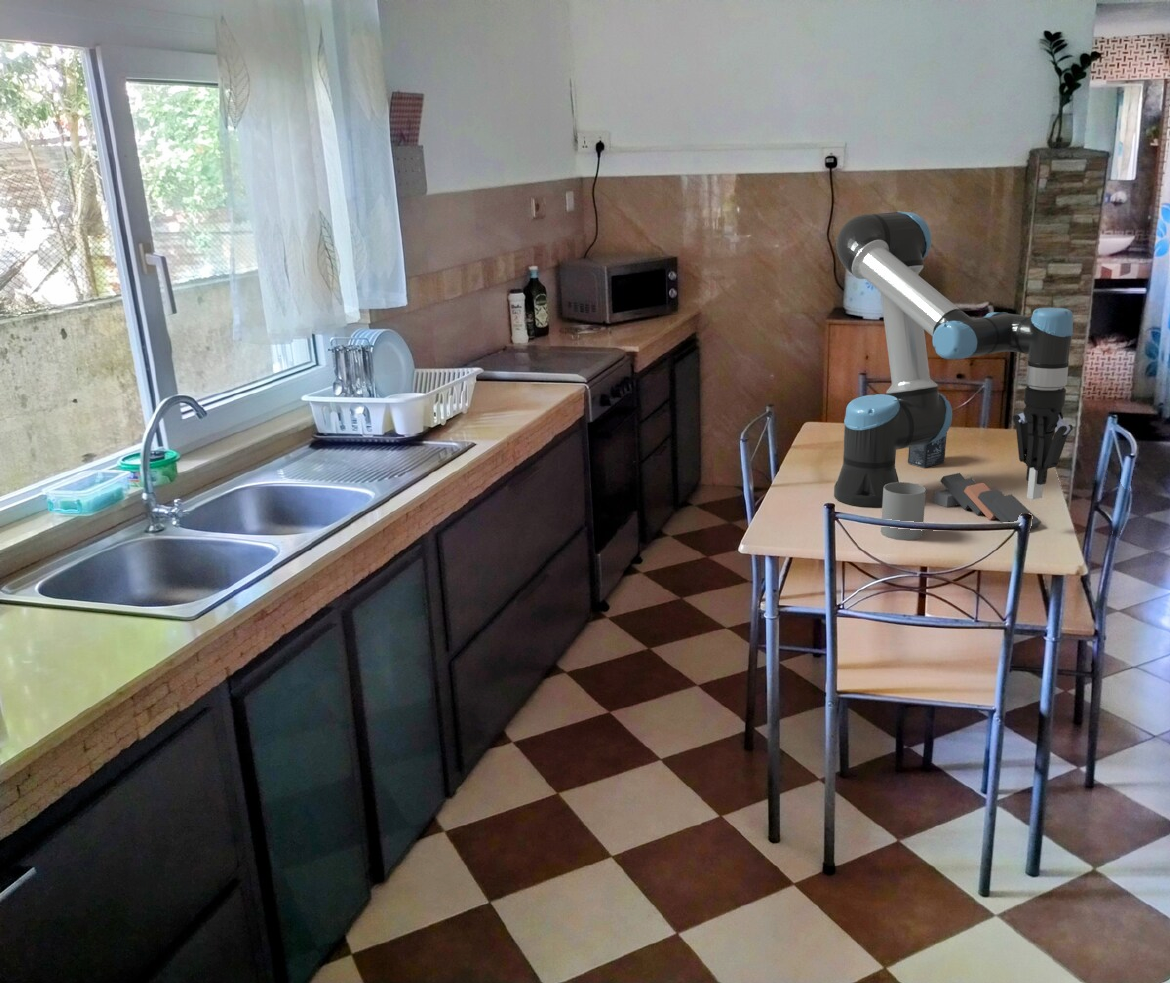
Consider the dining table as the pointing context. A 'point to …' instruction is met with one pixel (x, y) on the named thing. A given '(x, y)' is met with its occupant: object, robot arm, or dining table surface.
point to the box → (928, 453)
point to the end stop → (945, 498)
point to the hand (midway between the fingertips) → (1034, 497)
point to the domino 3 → (973, 494)
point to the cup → (903, 508)
